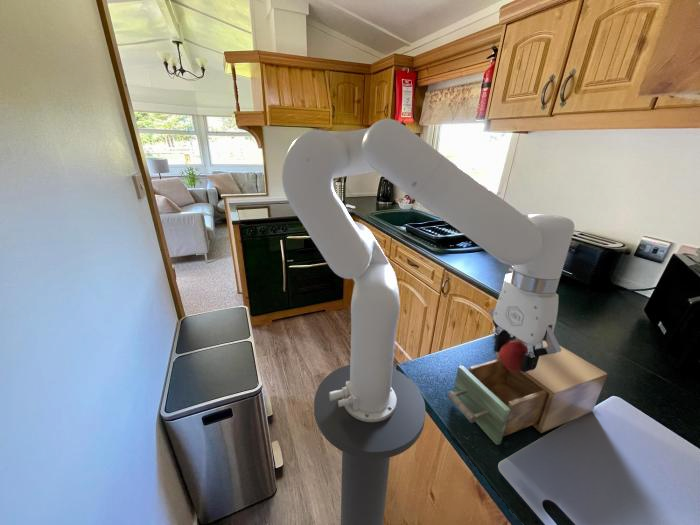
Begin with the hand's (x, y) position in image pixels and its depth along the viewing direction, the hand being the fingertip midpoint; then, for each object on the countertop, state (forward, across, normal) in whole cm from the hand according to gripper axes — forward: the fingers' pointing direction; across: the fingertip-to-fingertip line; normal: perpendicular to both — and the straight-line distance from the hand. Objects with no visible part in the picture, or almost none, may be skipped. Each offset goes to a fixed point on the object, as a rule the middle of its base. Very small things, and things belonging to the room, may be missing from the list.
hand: (513, 358), depth 60 cm
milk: (+15, -25, +28) cm, 41 cm away
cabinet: (+15, 0, +12) cm, 19 cm away
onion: (+3, 0, 0) cm, 3 cm away
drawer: (+14, 0, -2) cm, 14 cm away
